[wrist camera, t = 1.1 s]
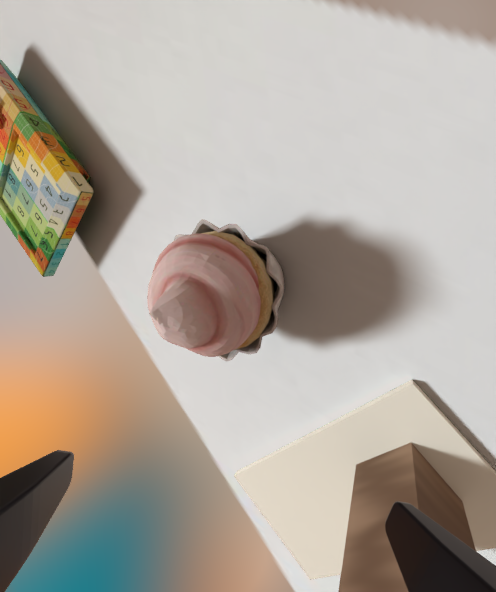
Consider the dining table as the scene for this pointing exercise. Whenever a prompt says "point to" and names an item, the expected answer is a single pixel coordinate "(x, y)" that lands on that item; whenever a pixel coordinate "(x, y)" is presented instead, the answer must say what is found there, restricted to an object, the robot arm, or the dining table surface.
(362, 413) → the beige mat
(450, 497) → the walnut block
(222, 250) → the cupcake
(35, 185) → the puzzle game
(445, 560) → the robot arm
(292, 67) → the dining table surface
